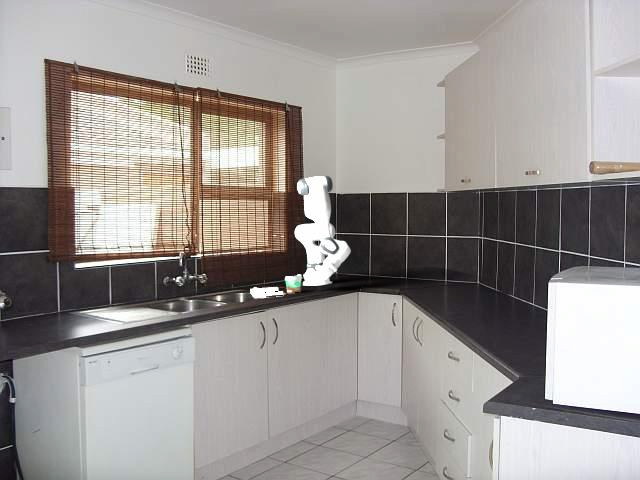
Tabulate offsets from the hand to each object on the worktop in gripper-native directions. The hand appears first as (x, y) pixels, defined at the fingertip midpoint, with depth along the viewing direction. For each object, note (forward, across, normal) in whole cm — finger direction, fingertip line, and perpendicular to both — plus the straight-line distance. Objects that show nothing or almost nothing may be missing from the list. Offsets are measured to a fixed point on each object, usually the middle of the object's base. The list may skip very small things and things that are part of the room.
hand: (315, 282), depth 380 cm
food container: (+12, 0, -4) cm, 12 cm away
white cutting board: (+24, 0, -17) cm, 29 cm away
